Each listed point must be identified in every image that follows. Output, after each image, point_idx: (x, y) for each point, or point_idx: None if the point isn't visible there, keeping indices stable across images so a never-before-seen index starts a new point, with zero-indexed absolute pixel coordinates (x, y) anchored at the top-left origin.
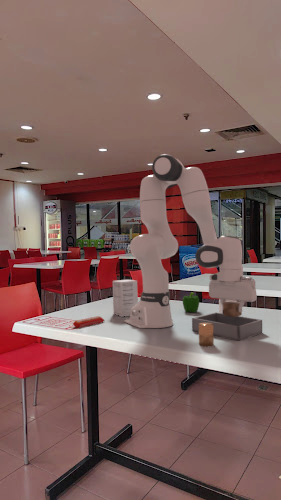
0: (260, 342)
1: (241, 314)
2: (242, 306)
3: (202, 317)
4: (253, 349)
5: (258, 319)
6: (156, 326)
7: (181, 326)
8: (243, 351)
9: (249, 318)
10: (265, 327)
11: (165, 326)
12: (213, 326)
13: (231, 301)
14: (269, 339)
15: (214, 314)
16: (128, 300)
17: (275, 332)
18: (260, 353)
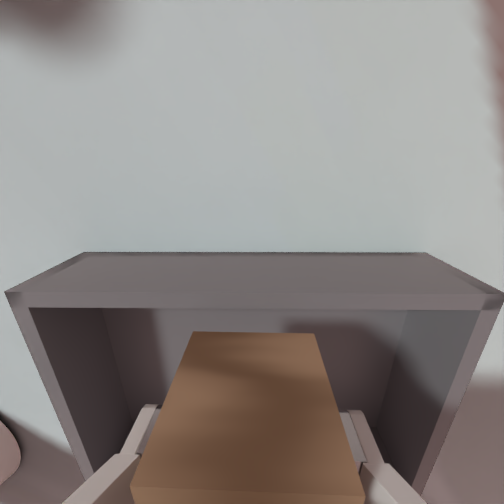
0: (467, 394)
1: (315, 340)
2: (401, 486)
3: (86, 433)
4: (467, 464)
5: (469, 297)
6: (6, 478)
7: (30, 396)
8: (442, 490)
9: (382, 309)
10: (393, 82)
11: (16, 453)
12: None
13: (153, 491)
14: (495, 336)
15: (45, 327)
16: None
17: (500, 181)
18: (500, 479)
